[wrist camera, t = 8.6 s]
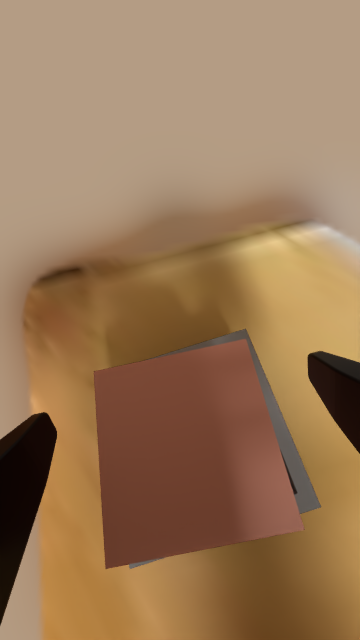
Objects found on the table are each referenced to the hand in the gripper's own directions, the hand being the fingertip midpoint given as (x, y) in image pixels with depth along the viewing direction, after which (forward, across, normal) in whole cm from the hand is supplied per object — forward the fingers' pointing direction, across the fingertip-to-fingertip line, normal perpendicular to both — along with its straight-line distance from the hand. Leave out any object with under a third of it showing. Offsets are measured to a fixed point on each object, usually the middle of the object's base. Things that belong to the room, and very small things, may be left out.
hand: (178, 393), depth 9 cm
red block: (+5, 0, +7) cm, 8 cm away
